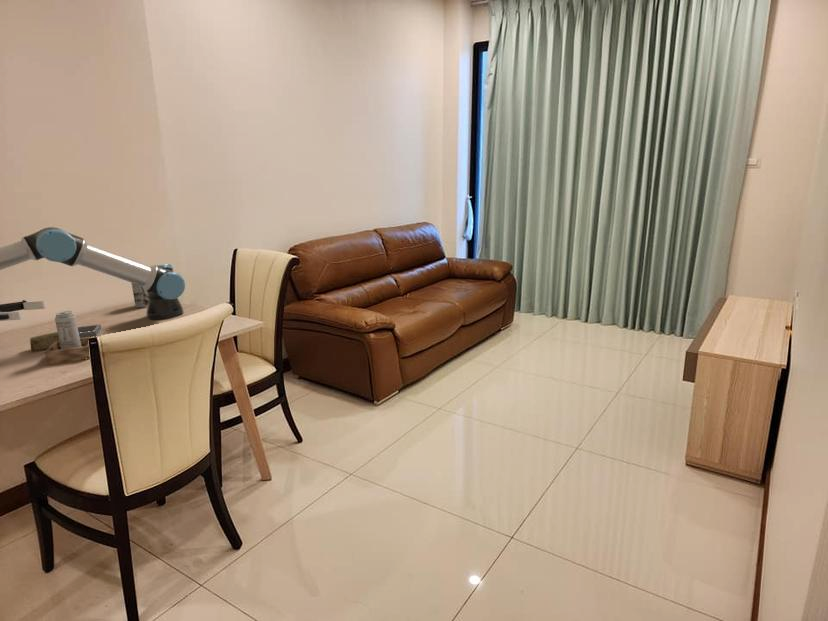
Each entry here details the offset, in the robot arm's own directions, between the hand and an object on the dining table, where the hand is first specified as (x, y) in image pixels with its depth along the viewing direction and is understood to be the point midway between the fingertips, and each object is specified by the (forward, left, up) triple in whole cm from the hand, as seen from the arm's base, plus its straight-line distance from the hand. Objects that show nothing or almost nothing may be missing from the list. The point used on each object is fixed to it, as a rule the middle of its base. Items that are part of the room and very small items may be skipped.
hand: (32, 310), depth 181 cm
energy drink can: (-10, +2, -17) cm, 20 cm away
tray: (-8, -25, -18) cm, 31 cm away
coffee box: (-27, -69, -18) cm, 76 cm away
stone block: (+1, -14, -18) cm, 23 cm away
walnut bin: (-10, +2, -18) cm, 20 cm away
